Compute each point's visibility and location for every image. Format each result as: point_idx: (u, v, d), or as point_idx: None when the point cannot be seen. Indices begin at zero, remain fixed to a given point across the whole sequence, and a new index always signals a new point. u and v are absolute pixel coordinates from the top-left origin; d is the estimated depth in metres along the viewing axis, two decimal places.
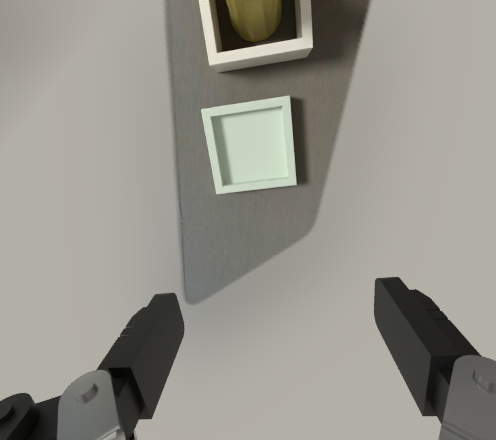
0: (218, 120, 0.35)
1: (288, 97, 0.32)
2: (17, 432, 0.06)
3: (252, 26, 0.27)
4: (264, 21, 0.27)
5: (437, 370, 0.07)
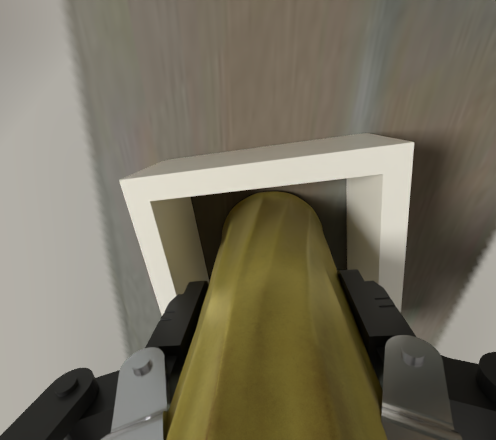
0: None
1: None
2: (84, 402, 0.07)
3: None
4: None
5: (376, 349, 0.07)
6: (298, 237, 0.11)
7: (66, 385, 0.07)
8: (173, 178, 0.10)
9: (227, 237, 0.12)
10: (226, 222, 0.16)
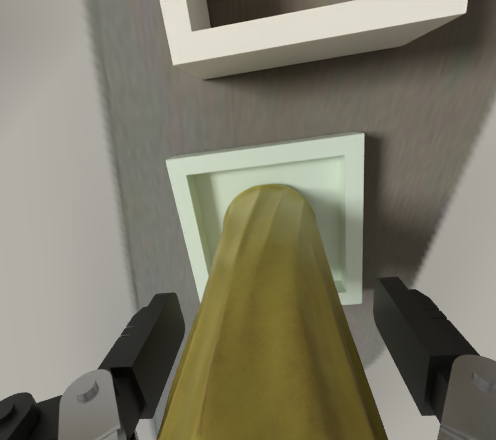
0: (204, 178, 0.17)
1: (360, 136, 0.14)
2: (18, 431, 0.06)
3: None
4: None
5: (436, 369, 0.07)
6: (290, 224, 0.12)
7: (1, 413, 0.06)
8: None
9: (227, 225, 0.14)
10: (227, 213, 0.17)
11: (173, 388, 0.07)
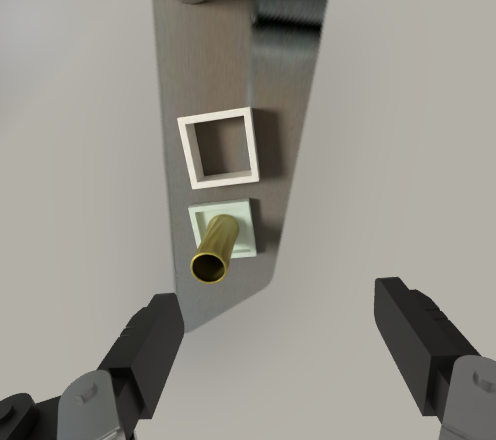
0: (200, 212, 0.50)
1: (247, 202, 0.47)
2: (17, 432, 0.06)
3: None
4: None
5: (437, 370, 0.07)
6: (223, 227, 0.45)
7: (0, 414, 0.06)
8: (191, 117, 0.40)
9: (207, 228, 0.47)
10: (208, 224, 0.50)
11: None
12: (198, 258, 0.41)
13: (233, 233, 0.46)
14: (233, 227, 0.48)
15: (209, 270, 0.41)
